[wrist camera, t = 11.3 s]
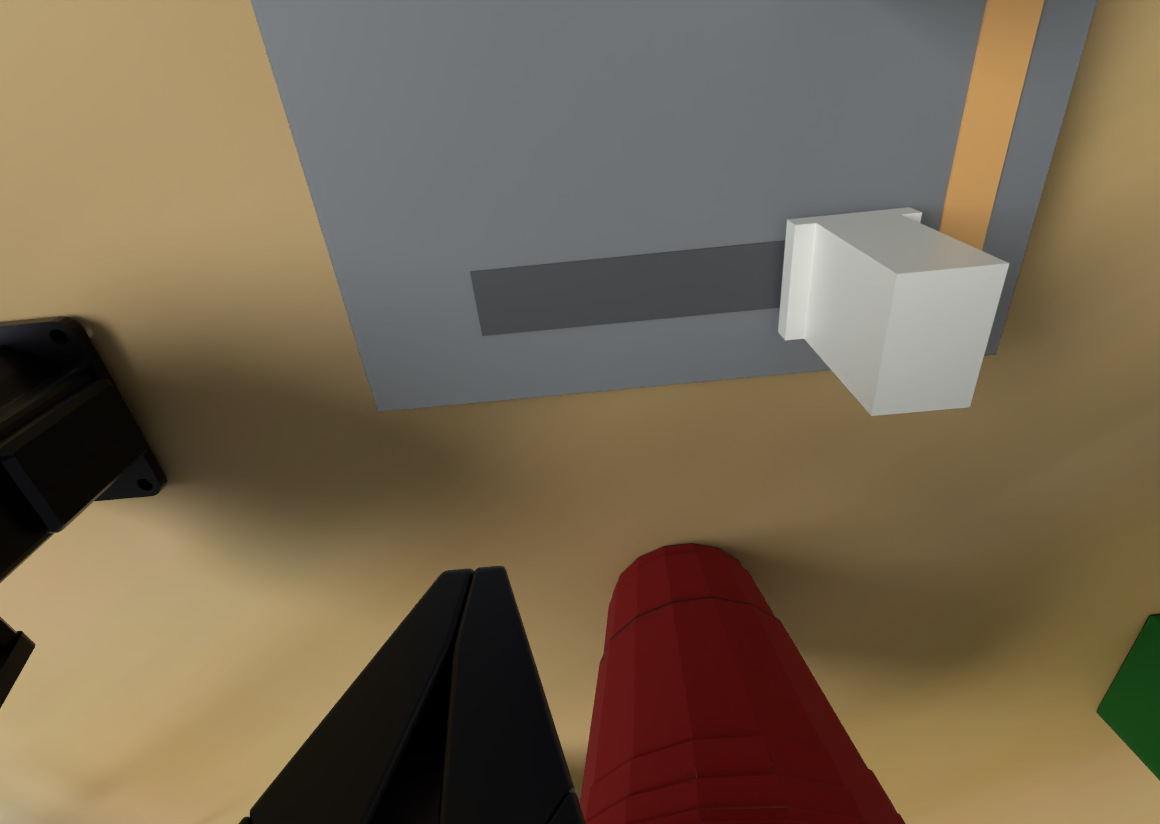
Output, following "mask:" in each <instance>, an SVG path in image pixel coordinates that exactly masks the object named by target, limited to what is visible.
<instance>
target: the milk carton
mask: <svg viewBox="0 0 1160 824" xmlns="http://www.w3.org/2000/svg"><path fill="white" fill-rule="evenodd" d="M1097 713H1098V714H1099V715H1100V716H1101V718H1102V719H1103V720H1104V721H1105V722H1106V723H1107V724H1108V725H1109V726H1110V727H1111V728H1112V729H1113V730H1114V731H1115V733H1116V734H1117V735H1118V736H1119V737H1120V738H1121V739H1122V740H1123V741H1124V742H1125V743H1126V744H1127V746H1128V747H1129V748H1130V749H1131V750H1132V751H1133V752H1134V753H1135V754H1136V755H1137V756H1138V757H1139V759H1140V760H1141V761H1142V762H1143V763H1144V764H1145V765H1146V766H1147V767H1148V768H1149V769H1150V770H1151V772H1152V773H1153V774H1154V775H1155V776H1156V777H1157V778H1158V779H1159V780H1160V615H1154V616H1149V618H1148V620H1147V622H1146V624H1145V626H1144V627H1143V629H1142V631H1141V633H1140V635H1139V636H1138V638H1137V640H1136V642H1135V644H1134V645H1133V647H1132V649H1131V651H1130V652H1129V654H1128V656H1127V658H1126V660H1125V661H1124V663H1123V665H1122V667H1121V669H1120V670H1119V672H1118V674H1117V676H1116V678H1115V679H1114V681H1113V683H1112V685H1111V687H1110V688H1109V690H1108V692H1107V694H1106V696H1105V697H1104V699H1103V701H1102V703H1101V705H1100V706H1099V708H1098V710H1097Z"/></svg>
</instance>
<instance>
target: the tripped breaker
mask: <svg viewBox="0 0 1160 824" xmlns="http://www.w3.org/2000/svg"><path fill="white" fill-rule="evenodd" d="M921 216H922V212H920V211H918V210H915V209H913V208H910V207H906V208H896V209H886V210H876V211H866V212H856V213H846V214H836V215H826V216H816V217H806V218H796V219H787V226H786V239H785V251H784V264H783V276H782V288H781V301H780V313H779V325H778V332H779V334H780V335H781V336H782V337H783V339H784V340H796V339H805V340H806V342H807V343H808V344H809V345H810V346H811V347H812V348H813V350H814V351H815V352H816V353H817V354H818V355H819V356H820V358H821V359H822V360H823V361H824V362H825V363H826V365H827V366H828V367H829V368H830V369H831V370H832V371H833V373H834V374H835V375H836V376H837V377H838V378H839V379H840V381H841V382H842V383H843V384H844V385H845V386H846V388H847V389H848V390H849V391H850V392H851V393H852V394H853V396H854V397H855V398H856V399H857V400H858V401H859V402H860V404H861V405H862V406H863V407H864V408H865V409H866V411H867V412H868V413H869V414H870V415H871V416H878V415H889V414H900V413H911V412H922V411H933V410H944V409H955V408H967V407H970V405H971V401H972V397H973V394H974V390H975V387H976V383H977V379H978V376H979V372H980V368H981V365H982V361H983V357H984V354H985V350H986V347H987V343H988V339H989V336H990V332H991V328H992V325H993V321H994V318H995V314H996V310H997V307H998V303H999V299H1000V296H1001V292H1002V289H1003V285H1004V281H1005V278H1006V274H1007V270H1008V267H1009V263H1008V262H1006V261H1004V260H1001V259H999V258H997V257H995V256H992V255H990V254H988V253H986V252H983V251H981V250H979V249H977V248H975V247H972V246H970V245H968V244H966V243H963V242H961V241H959V240H957V239H954V238H952V237H950V236H948V235H945V234H943V233H941V232H939V231H937V230H934V229H932V228H930V227H928V226H925V225H923V224H921V223H920V221H921Z"/></svg>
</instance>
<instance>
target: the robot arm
mask: <svg viewBox="0 0 1160 824" xmlns="http://www.w3.org/2000/svg"><path fill="white" fill-rule="evenodd" d="M60 330H61V331H63V332H64V333H65V334H66V335H67V336H68V339H67V338H66V337H64V336H63V335H62V334H61V332H60ZM147 480H149V481H150V482H151V483H150V482H148V481H147ZM166 484H167V479H166V476H165V474H164V472H163V470H162V469H161V467H160V465H159V463H158V461H157V460H156V458H155V456H154V454H153V452H152V450H151V449H150V447H149V445H148V443H147V441H146V440H145V438H144V436H143V434H142V432H141V431H140V429H139V427H138V425H137V423H136V422H135V420H134V418H133V416H132V414H131V413H130V411H129V409H128V407H127V405H126V404H125V402H124V400H123V398H122V396H121V395H120V393H119V391H118V389H117V387H116V385H115V384H114V382H113V380H112V378H111V376H110V375H109V373H108V371H107V369H106V367H105V366H104V364H103V362H102V360H101V358H100V357H99V355H98V353H97V351H96V349H95V348H94V346H93V344H92V342H91V340H90V339H89V337H88V335H87V333H86V331H85V330H84V328H83V327H82V326H81V325H80V324H79V323H78V322H76V321H75V320H73V319H71V318H68V317H61V316H60V317H50V318H40V319H29V320H19V321H9V322H0V583H1V582H2V581H3V580H4V579H5V578H6V577H7V576H8V575H10V574H11V573H12V572H13V571H14V570H15V569H16V568H17V567H18V566H19V565H20V564H22V563H23V562H24V561H25V560H26V559H27V558H28V557H29V556H30V555H31V554H32V553H33V552H35V551H36V550H37V549H38V548H39V547H40V546H41V545H42V544H43V543H44V542H45V541H47V540H48V539H49V538H50V537H51V536H52V535H53V534H54V533H58V532H60V531H62V530H63V529H64V528H65V527H66V526H68V525H69V524H70V523H71V522H72V521H73V520H74V519H75V518H76V517H77V516H78V515H79V514H80V513H82V512H83V511H84V510H85V509H86V508H87V507H88V506H89V505H90V504H91V503H92V502H93V501H102V500H113V499H124V498H135V497H147V496H154V495H157V494H158V493H159V492H160V491H161V490H162V489H163V488H164V487H165V486H166ZM34 648H35V643H34V642H33V641H32V640H31V639H29V638H28V637H27V636H26V635H25V634H24V633H23V632H22V631H15V630H14V629H13V628H12V627H11V626H10V625H8V624H7V623H6V622H5V621H4V620H3V619H2V618H1V617H0V708H1V706H2V704H3V703H4V701H5V699H6V697H7V696H8V694H9V692H10V690H11V688H12V687H13V685H14V683H15V681H16V680H17V678H18V676H19V674H20V672H21V671H22V669H23V667H24V665H25V664H26V662H27V660H28V658H29V656H30V655H31V653H32V651H33V649H34ZM239 824H586V823H585V819H584V816H583V813H582V810H581V807H580V803H579V800H578V797H577V795H576V793H575V791H574V786H573V782H572V779H571V776H570V773H569V770H568V766H567V763H566V760H565V757H564V754H563V750H562V747H561V744H560V741H559V738H558V734H557V731H556V728H555V725H554V722H553V718H552V715H551V712H550V709H549V706H548V703H547V699H546V696H545V693H544V690H543V687H542V683H541V680H540V677H539V674H538V671H537V667H536V664H535V661H534V658H533V655H532V651H531V648H530V645H529V642H528V639H527V635H526V632H525V629H524V626H523V623H522V619H521V616H520V613H519V610H518V607H517V604H516V600H515V597H514V594H513V591H512V588H511V584H510V581H509V578H508V575H507V572H506V569H505V568H504V567H503V566H492V567H481V568H477V569H476V570H475V571H474V570H472V569H458V570H447V571H444V572H443V573H442V574H441V575H440V576H439V577H438V578H437V579H436V581H435V582H434V583H433V584H432V586H431V587H430V588H429V589H428V590H427V592H426V593H425V594H424V595H423V597H422V598H421V599H420V600H419V602H418V603H417V604H416V605H415V607H414V608H413V609H412V610H411V612H410V613H409V614H408V615H407V616H406V618H405V619H404V620H403V621H402V623H401V624H400V625H399V626H398V628H397V629H396V630H395V631H394V633H393V634H392V635H391V636H390V637H389V639H388V640H387V641H386V642H385V644H384V645H383V646H382V647H381V649H380V650H379V651H378V652H377V654H376V655H375V656H374V657H373V659H372V660H371V661H370V662H369V663H368V665H367V666H366V667H365V668H364V670H363V671H362V672H361V673H360V675H359V676H358V677H357V678H356V680H355V681H354V682H353V683H352V684H351V686H350V687H349V688H348V689H347V691H346V692H345V693H344V694H343V696H342V697H341V698H340V699H339V701H338V702H337V703H336V704H335V706H334V707H333V708H332V709H331V710H330V712H329V713H328V714H327V715H326V717H325V718H324V719H323V720H322V722H321V723H320V724H319V725H318V727H317V728H316V729H315V730H314V731H313V733H312V734H311V735H310V736H309V738H308V739H307V740H306V741H305V743H304V744H303V745H302V746H301V748H300V749H299V750H298V751H297V753H296V754H295V755H294V756H293V757H292V759H291V760H290V761H289V762H288V764H287V765H286V766H285V767H284V769H283V770H282V771H281V772H280V774H279V775H278V776H277V777H276V779H275V780H274V781H273V782H272V783H271V785H270V786H269V787H268V788H267V790H266V791H265V792H264V793H263V795H262V796H261V797H260V798H259V800H258V801H257V802H256V803H255V804H254V806H253V807H252V808H251V810H250V817H244V818H243V819H242V820H241V821H240V823H239Z"/></svg>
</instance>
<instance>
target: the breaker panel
mask: <svg viewBox="0 0 1160 824" xmlns="http://www.w3.org/2000/svg"><path fill="white" fill-rule="evenodd" d="M251 3H252V6H253V10H254V13H255V16H256V19H257V23H258V26H259V29H260V32H261V35H262V39H263V42H264V45H265V48H266V52H267V55H268V58H269V61H270V65H271V68H272V71H273V74H274V78H275V81H276V84H277V87H278V91H279V94H280V97H281V100H282V103H283V107H284V110H285V113H286V116H287V120H288V123H289V126H290V129H291V133H292V136H293V139H294V142H295V146H296V149H297V152H298V155H299V159H300V162H301V165H302V168H303V171H304V175H305V178H306V181H307V184H308V188H309V191H310V194H311V197H312V201H313V204H314V207H315V210H316V214H317V217H318V220H319V223H320V227H321V230H322V233H323V236H324V239H325V243H326V246H327V249H328V252H329V256H330V259H331V262H332V265H333V269H334V272H335V275H336V278H337V282H338V285H339V288H340V291H341V295H342V298H343V301H344V304H345V307H346V311H347V314H348V317H349V320H350V324H351V327H352V330H353V333H354V337H355V340H356V343H357V346H358V350H359V353H360V356H361V359H362V363H363V366H364V369H365V372H366V375H367V379H368V382H369V385H370V388H371V392H372V395H373V398H374V401H375V405H376V408H377V411H378V412H383V411H394V410H405V409H415V408H426V407H437V406H448V405H459V404H469V403H480V402H491V401H502V400H513V399H523V398H534V397H545V396H556V395H566V394H577V393H588V392H599V391H610V390H620V389H631V388H642V387H653V386H664V385H674V384H685V383H696V382H707V381H718V380H728V379H739V378H750V377H761V376H772V375H782V374H793V373H804V372H815V371H825V370H831V369H830V368H829V367H828V366H827V365H826V363H825V362H824V361H823V360H822V359H821V358H820V356H819V355H818V354H817V353H816V352H815V351H814V350H813V348H812V347H811V346H810V345H809V344H808V343H807V342H806V340H805V339H796V340H784V339H783V337H782V336H781V335H780V334H779V332H778V325H779V313H780V301H781V288H782V276H783V264H784V251H785V239H786V226H787V219H796V218H806V217H816V216H826V215H836V214H846V213H856V212H866V211H876V210H886V209H896V208H906V207H910V208H913V209H915V210H918V211H920V212H922V216H921V221H920V223H921V224H923V225H925V226H928V227H930V228H932V229H934V230H937V231H939V232H941V233H943V234H945V235H948V236H950V237H952V238H954V239H957V240H959V241H961V242H963V243H966V244H968V245H970V246H972V247H975V248H977V249H979V250H981V251H983V252H986V253H988V254H990V255H992V256H995V257H997V258H999V259H1001V260H1004V261H1006V262H1008V263H1009V267H1008V270H1007V274H1006V278H1005V281H1004V285H1003V289H1002V292H1001V296H1000V299H999V303H998V307H997V310H996V314H995V318H994V321H993V325H992V328H991V332H990V336H989V339H988V343H987V347H986V350H985V354H984V356H987V355H996V352H997V349H998V345H999V342H1000V338H1001V335H1002V331H1003V328H1004V324H1005V321H1006V317H1007V314H1008V310H1009V307H1010V303H1011V300H1012V296H1013V293H1014V289H1015V286H1016V282H1017V279H1018V275H1019V272H1020V268H1021V265H1022V261H1023V258H1024V254H1025V251H1026V247H1027V244H1028V240H1029V237H1030V234H1031V230H1032V227H1033V223H1034V220H1035V216H1036V213H1037V209H1038V206H1039V202H1040V199H1041V195H1042V192H1043V188H1044V185H1045V181H1046V178H1047V174H1048V171H1049V167H1050V164H1051V160H1052V157H1053V153H1054V150H1055V146H1056V143H1057V139H1058V136H1059V132H1060V129H1061V125H1062V122H1063V118H1064V115H1065V111H1066V108H1067V104H1068V101H1069V97H1070V94H1071V90H1072V87H1073V83H1074V80H1075V76H1076V73H1077V69H1078V66H1079V63H1080V59H1081V56H1082V52H1083V49H1084V45H1085V42H1086V38H1087V35H1088V31H1089V28H1090V24H1091V21H1092V17H1093V14H1094V10H1095V7H1096V3H1097V0H251Z"/></svg>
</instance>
